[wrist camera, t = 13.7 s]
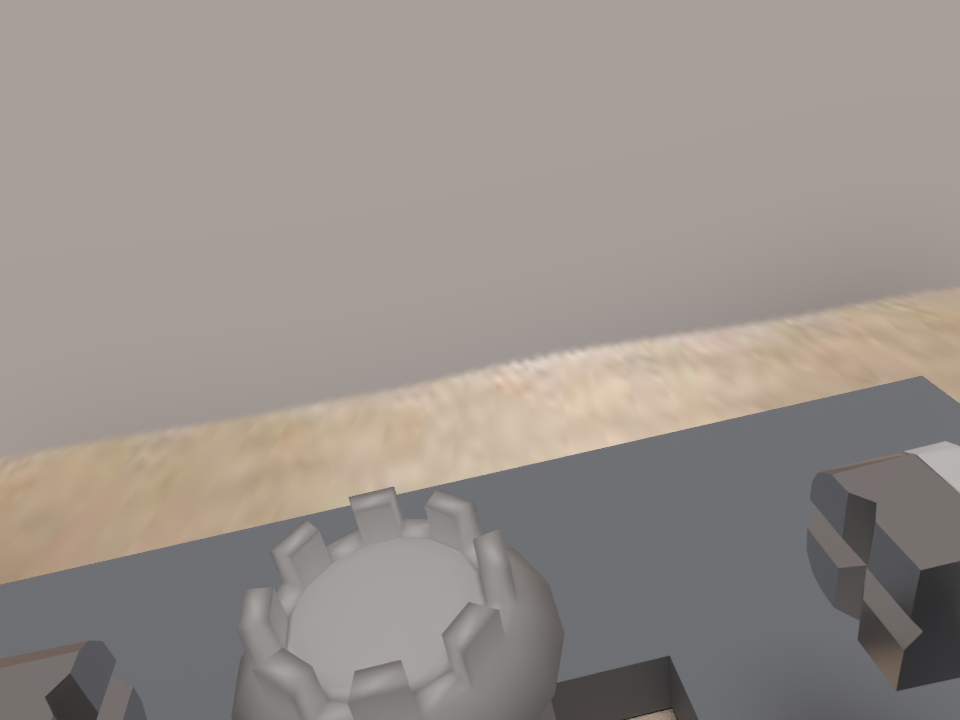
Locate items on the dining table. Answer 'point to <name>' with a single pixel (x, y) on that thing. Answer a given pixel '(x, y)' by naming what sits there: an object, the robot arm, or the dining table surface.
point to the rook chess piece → (400, 623)
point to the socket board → (573, 575)
